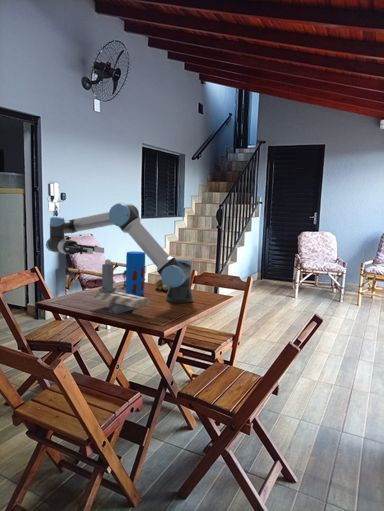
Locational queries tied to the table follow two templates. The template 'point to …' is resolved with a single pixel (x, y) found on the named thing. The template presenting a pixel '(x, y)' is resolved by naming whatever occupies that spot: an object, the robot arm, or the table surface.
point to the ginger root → (161, 285)
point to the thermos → (135, 273)
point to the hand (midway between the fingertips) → (98, 251)
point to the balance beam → (122, 301)
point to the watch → (124, 277)
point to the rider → (107, 277)
